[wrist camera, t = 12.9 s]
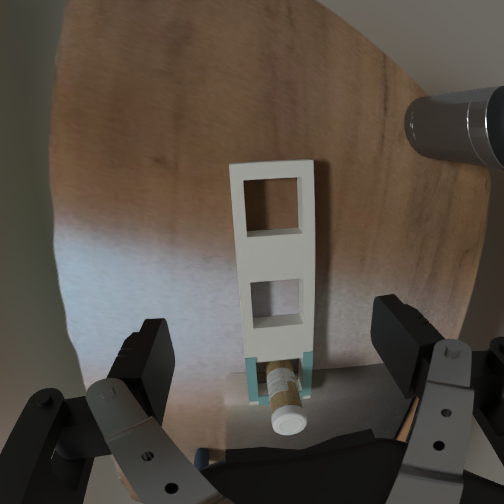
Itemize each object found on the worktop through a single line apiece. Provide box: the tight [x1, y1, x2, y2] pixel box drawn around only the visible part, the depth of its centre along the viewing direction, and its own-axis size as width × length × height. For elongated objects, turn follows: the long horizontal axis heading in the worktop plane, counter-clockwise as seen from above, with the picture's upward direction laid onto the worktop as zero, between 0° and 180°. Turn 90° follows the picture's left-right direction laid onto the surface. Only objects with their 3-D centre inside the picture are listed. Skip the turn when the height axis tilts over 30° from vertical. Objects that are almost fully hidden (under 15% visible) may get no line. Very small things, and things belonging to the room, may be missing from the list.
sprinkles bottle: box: [265, 359, 307, 435], centre depth 44 cm, size 5×5×14 cm
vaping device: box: [194, 448, 209, 471], centre depth 51 cm, size 3×5×12 cm, turn 163°
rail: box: [229, 159, 315, 405], centre depth 44 cm, size 10×37×3 cm, turn 4°
